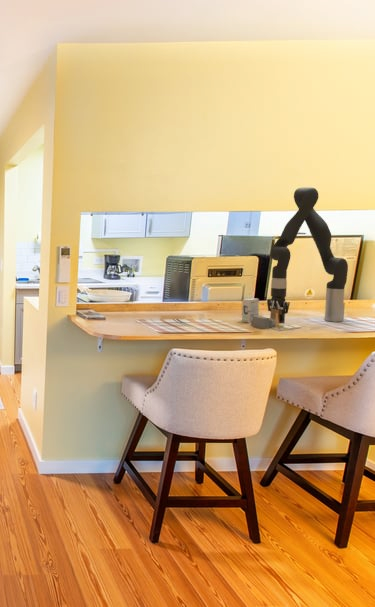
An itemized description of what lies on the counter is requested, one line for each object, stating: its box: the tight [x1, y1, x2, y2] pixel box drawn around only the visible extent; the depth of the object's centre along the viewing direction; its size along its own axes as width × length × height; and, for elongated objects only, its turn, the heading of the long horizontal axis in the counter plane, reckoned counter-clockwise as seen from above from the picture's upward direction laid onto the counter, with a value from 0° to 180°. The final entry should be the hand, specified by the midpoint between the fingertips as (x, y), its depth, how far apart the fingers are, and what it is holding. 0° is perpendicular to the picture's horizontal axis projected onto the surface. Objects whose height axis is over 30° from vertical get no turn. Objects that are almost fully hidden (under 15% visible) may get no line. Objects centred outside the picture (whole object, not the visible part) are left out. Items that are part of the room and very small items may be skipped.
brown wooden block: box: [269, 307, 286, 325], centre depth 288 cm, size 5×5×7 cm
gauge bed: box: [250, 315, 303, 332], centre depth 285 cm, size 18×18×5 cm
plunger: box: [268, 313, 285, 328], centre depth 283 cm, size 4×14×7 cm, turn 36°
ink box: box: [241, 297, 260, 324], centre depth 298 cm, size 9×5×12 cm, turn 141°
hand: (277, 320), depth 289 cm, fingers closed on brown wooden block, 5 cm apart
